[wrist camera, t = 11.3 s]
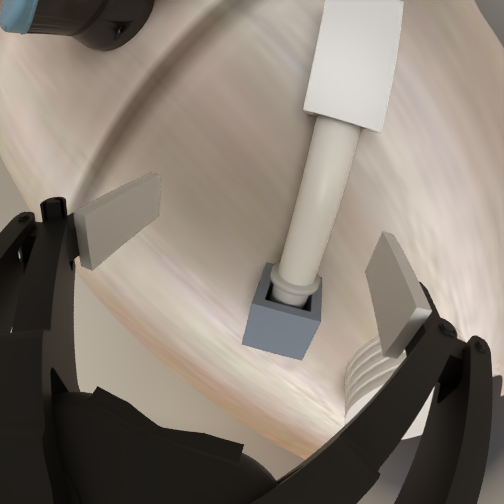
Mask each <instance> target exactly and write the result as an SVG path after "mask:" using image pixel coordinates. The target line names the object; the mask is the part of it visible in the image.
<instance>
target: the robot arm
mask: <svg viewBox="0 0 504 504" xmlns="http://www.w3.org/2000/svg"><path fill="white" fill-rule="evenodd" d="M153 2H154V0H4V1H3V4H2V8H1V13H0V25H1V28H2V29H3V30H4V31H5V32H11V33H21V34H26V33H31V34H52V35H63V36H72V37H73V38H75V39H76V40H78V41H79V42H81V43H82V44H84V45H85V46H87V47H88V48H91V49H95V50H102V51H107V50H112V49H115V48H117V47H119V46H121V45H123V44H124V43H126V42H127V41H128V40H130V39H131V38H132V37H133V36H134V35H135V34H136V33H137V32H138V31H139V30H140V28H141V27H142V26H143V24H144V23H145V22H146V20H147V18H148V16H149V14H150V12H151V10H152V7H153ZM160 189H161V174H158V173H152V172H150V173H148V174H146V175H144V176H142V177H140V178H137V179H135V180H133V181H131V182H129V183H127V184H125V185H123V186H121V187H119V188H117V189H115V190H113V191H111V192H109V193H107V194H105V195H103V196H101V197H100V198H98V199H96V200H94V201H92V202H90V203H89V204H87V205H85V206H83V207H81V208H80V209H78V210H76V211H74V212H73V213H72V214H70V215H68V216H67V207H66V199H65V198H63V197H53V198H49V199H47V200H45V201H43V202H42V203H41V204H40V207H41V214H42V220H43V221H42V222H36V221H35V215H34V213H32V212H23V213H20V214H19V215H17V216H16V217H14V218H13V219H12V220H11V221H10V222H9V224H8V225H7V226H6V227H5V228H4V229H3V230H2V231H1V232H0V504H357V503H358V501H359V500H360V499H361V498H362V497H363V496H364V495H365V494H366V493H367V492H368V491H369V490H370V488H371V487H372V486H373V485H374V484H375V482H376V481H377V480H378V478H379V476H380V473H379V472H378V470H379V468H380V466H381V465H382V464H383V463H384V461H385V460H386V459H387V458H388V457H389V455H390V454H391V453H392V452H393V450H394V449H395V448H396V446H397V445H398V443H399V442H400V441H401V439H402V438H403V436H404V435H405V434H406V432H407V431H408V429H409V428H410V426H411V425H412V423H413V422H414V420H415V419H416V417H417V415H418V414H419V412H420V411H421V409H422V407H423V406H424V404H425V402H426V401H427V399H428V397H429V395H430V393H431V392H432V390H433V388H434V392H433V396H432V401H431V405H430V409H429V412H428V416H427V420H426V423H425V427H424V430H423V433H422V437H421V440H420V443H419V446H418V449H417V451H416V454H415V457H414V460H413V462H412V465H411V467H410V470H409V472H408V475H407V477H406V479H405V482H404V484H403V486H402V489H401V491H400V493H399V495H398V497H397V499H396V501H395V503H394V504H477V501H478V497H479V494H480V489H481V486H482V482H483V477H484V472H485V467H486V461H487V456H488V449H489V440H490V431H491V419H492V363H491V352H490V348H489V346H488V344H487V342H485V340H484V339H482V338H480V337H478V336H472V337H471V338H470V339H469V341H468V342H467V343H466V342H464V341H462V340H460V339H458V338H457V335H458V334H457V331H456V329H455V328H454V326H453V325H452V324H451V323H450V322H448V321H447V320H445V319H443V318H440V316H439V314H438V311H437V309H436V307H435V305H434V303H433V300H432V298H430V297H431V296H430V294H429V292H428V290H427V289H426V287H425V286H424V285H423V284H422V283H421V282H419V281H418V279H417V277H416V275H415V273H414V271H413V269H412V267H411V265H410V263H409V261H408V259H407V258H406V256H405V254H404V252H403V250H402V248H401V246H400V245H399V243H398V241H397V239H396V237H395V236H394V235H393V234H390V233H387V232H384V231H382V233H381V236H380V238H379V241H378V243H377V245H376V248H375V250H374V252H373V255H372V257H371V259H370V261H369V264H368V266H367V268H366V270H365V273H366V277H367V281H368V285H369V289H370V294H371V298H372V302H373V307H374V312H375V317H376V321H377V327H378V332H379V337H380V343H381V349H382V355H383V357H389V358H395V359H398V358H399V356H400V355H401V354H402V353H403V351H404V350H405V351H406V356H407V357H406V358H405V359H404V361H403V362H402V363H401V364H400V365H399V367H398V368H397V369H396V370H395V371H394V372H393V374H392V375H391V377H390V378H389V379H388V380H387V381H386V383H385V384H384V385H383V386H382V387H381V388H380V390H379V391H378V392H377V393H376V394H375V395H374V396H373V397H372V398H371V400H370V401H369V402H368V403H367V404H366V405H365V406H364V407H363V408H362V409H361V410H360V411H359V412H358V413H357V414H356V415H355V416H354V417H353V418H352V419H351V420H350V421H349V422H348V423H347V424H346V425H345V426H344V427H343V428H342V429H341V430H340V431H339V432H338V433H337V434H335V435H334V436H333V437H332V438H331V439H330V440H329V441H328V442H327V443H325V444H324V445H323V446H322V447H321V448H320V449H318V450H317V451H316V452H315V453H314V454H312V455H311V456H310V457H309V458H307V459H306V460H305V461H304V462H302V463H301V464H300V465H299V466H297V467H296V468H294V469H293V470H291V471H290V472H289V473H287V474H286V475H284V476H283V477H281V478H280V479H279V480H277V481H276V480H275V479H274V477H273V476H272V475H271V473H269V472H268V470H267V469H266V468H265V467H263V466H262V465H261V464H260V463H258V462H257V461H256V460H254V459H253V458H251V457H249V456H248V455H246V454H244V453H242V450H243V446H244V444H240V443H236V442H232V441H229V440H225V439H221V438H218V437H215V436H212V435H208V434H205V433H198V432H188V431H181V430H174V429H168V428H163V427H160V426H158V425H157V424H155V423H154V422H153V421H151V420H150V419H149V418H147V417H146V416H145V415H143V414H142V413H141V412H139V411H138V410H137V409H136V408H135V407H133V406H132V405H131V404H130V403H128V402H126V401H124V400H122V399H120V398H118V397H117V396H115V395H112V394H111V393H109V392H107V391H105V390H103V389H101V388H100V387H97V388H96V390H95V391H94V392H93V394H92V393H86V392H80V390H79V386H78V382H77V374H76V364H75V349H74V313H73V312H74V280H75V261H74V259H75V258H76V257H77V256H80V262H81V266H83V267H85V268H87V269H90V270H92V271H93V270H94V269H95V268H96V267H97V266H98V265H100V264H101V263H102V262H103V261H104V260H105V259H107V258H108V257H109V256H110V255H111V254H112V253H114V252H115V251H116V250H117V249H118V248H120V247H121V246H122V245H123V244H124V243H126V242H127V241H128V240H129V239H130V238H132V237H133V236H134V235H135V234H137V233H138V232H139V231H140V230H142V229H143V228H144V227H146V226H147V225H148V224H149V223H151V222H152V221H153V220H155V219H156V218H157V217H158V216H159V210H160ZM18 252H19V253H20V257H21V258H20V259H19V254H18ZM12 327H13V328H12ZM11 329H12V333H10V331H11ZM434 386H435V387H434Z"/></svg>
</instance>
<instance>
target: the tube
mask: <svg viewBox="0 0 504 504" xmlns="http://www.w3.org/2000/svg"><path fill="white" fill-rule="evenodd" d="M360 131H361V126H358V125H355V124H352V123H348V122H345V121H342V120H338V119H335V118H331V117H328V116H324V115H320V114H317V118H316V122H315V127H314V131H313V135H312V139H311V144H310V148H309V152H308V156H307V160H306V165H305V169H304V173H303V177H302V181H301V185H300V189H299V193H298V197H297V201H296V204H295V208H294V212H293V216H292V220H291V224H290V227H289V231H288V235H287V239H286V242H285V246H284V250H283V253H282V257H281V261H280V262H277V263H276V264H274V265H273V267H272V271H271V275H270V278H271V281H272V282H273V284H274V286H273V289H272V293H271V296H270V300H269V301H272V302H275V303H279V304H282V305H286V306H290V307H294V308H297V309H301V310H303V309H304V306H305V304H306V301H307V299H308V296H309V295H312V294H314V293H315V292H316V291H317V289H318V286H319V284H320V277H319V275H318V274H317V272H318V269H319V266H320V263H321V261H322V258H323V255H324V252H325V249H326V246H327V243H328V240H329V237H330V234H331V231H332V228H333V225H334V222H335V219H336V216H337V213H338V209H339V206H340V203H341V200H342V196H343V193H344V190H345V186H346V183H347V180H348V176H349V173H350V169H351V165H352V162H353V158H354V154H355V151H356V147H357V143H358V139H359V135H360Z"/></svg>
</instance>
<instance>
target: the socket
mask: <svg viewBox="0 0 504 504" xmlns="http://www.w3.org/2000/svg"><path fill="white" fill-rule="evenodd" d="M273 265H274V264H270V263H266V266H265V269H264V271H263V274H262V277H261V280H260V282H259V285H258V288H257V290H256V293H255V296H254V298H253V301H252V304H251V308H250V312H249V316H248V320H247V325H246V329H245V333H244V337H243V341H242V344H243V345H246V346H249V347H253V348H256V349H260V350H263V351H267V352H271V353H274V354H278V355H282V356H286V357H290V358H294V359H298V360H302V359H303V357H304V355H305V353H306V351H307V349H308V347H309V345H310V343H311V341H312V339H313V337H314V335H315V333H316V331H317V329H318V327H319V325H320V322H321V300H322V278H321V277H320V284H319V286H318V289H317V291H316V292H315V293H314V294H312V295H309V296H308V299H307V301H306V304H305V306H304V309H303V310H301V309H297V308H294V307H290V306H286V305H282V304H279V303H275V302H272V301H269V300H270V296H271V293H272V289H273V286H274V284H273V282H272V281H271V278H270V275H271V271H272V267H273Z"/></svg>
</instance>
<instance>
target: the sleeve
mask: <svg viewBox="0 0 504 504" xmlns="http://www.w3.org/2000/svg"><path fill="white" fill-rule="evenodd" d="M402 13H403V2H401V1H399V0H325V5H324V11H323V16H322V21H321V26H320V31H319V36H318V41H317V46H316V51H315V56H314V61H313V65H312V70H311V75H310V80H309V84H308V89H307V94H306V98H305V103H304V108H303V110H304V111H305V113H306V114H310V115H314V116H317V114H320V115H324V116H328V117H331V118H335V119H338V120H342V121H345V122H348V123H352V124H355V125H358V126H361V129H362V130H366V131H372V132H378V133H381V131H382V127H383V123H384V119H385V114H386V110H387V106H388V101H389V96H390V92H391V87H392V81H393V76H394V71H395V65H396V59H397V53H398V46H399V39H400V31H401V23H402Z"/></svg>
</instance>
